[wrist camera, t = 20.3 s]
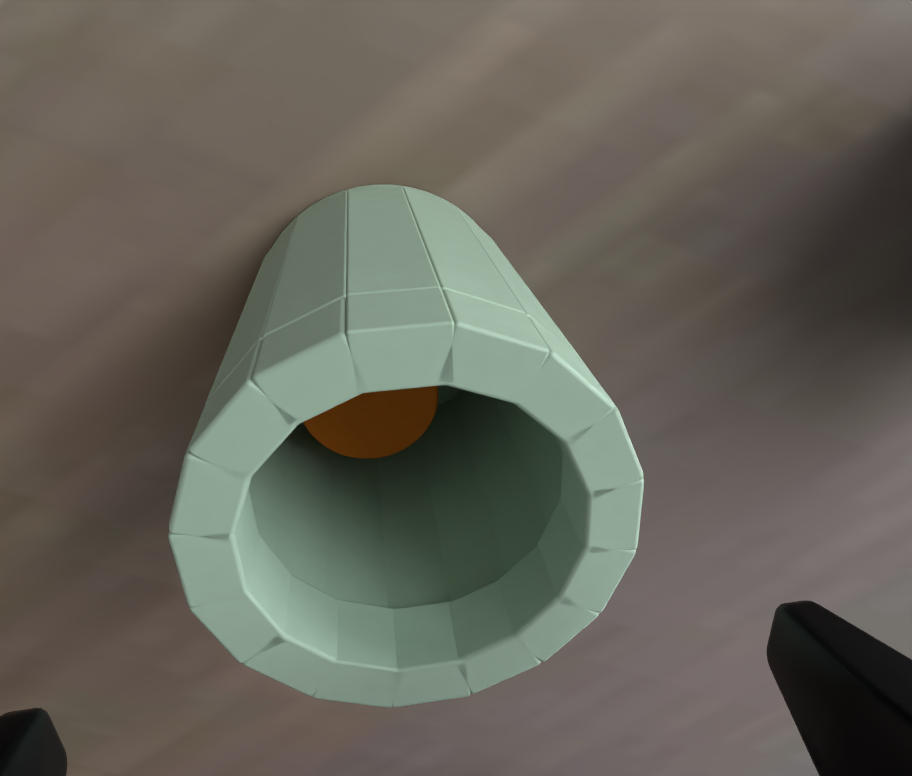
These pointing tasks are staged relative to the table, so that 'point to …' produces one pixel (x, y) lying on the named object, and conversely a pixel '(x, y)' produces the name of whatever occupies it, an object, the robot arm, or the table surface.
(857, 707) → the robot arm
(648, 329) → the table surface
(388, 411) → the cylinder
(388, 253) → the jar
